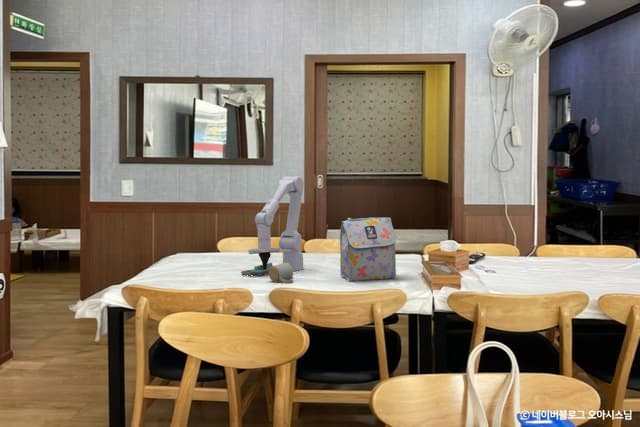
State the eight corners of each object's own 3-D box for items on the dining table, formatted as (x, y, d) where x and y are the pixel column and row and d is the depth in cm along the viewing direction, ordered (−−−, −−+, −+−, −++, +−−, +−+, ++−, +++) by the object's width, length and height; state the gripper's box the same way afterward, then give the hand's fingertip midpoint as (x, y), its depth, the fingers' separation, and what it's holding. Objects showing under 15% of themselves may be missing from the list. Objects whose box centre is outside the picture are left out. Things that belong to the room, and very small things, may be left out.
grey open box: (270, 270, 331) (270, 266, 331) (278, 272, 327) (278, 268, 327) (241, 274, 320) (241, 271, 320) (249, 276, 315) (249, 272, 315)
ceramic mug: (267, 281, 303) (267, 263, 302) (282, 279, 308) (282, 261, 307) (283, 284, 295) (283, 266, 294) (298, 282, 300) (298, 264, 300)
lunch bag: (348, 283, 297) (348, 220, 295) (337, 276, 313) (336, 217, 311) (398, 280, 303) (398, 218, 301) (384, 274, 319) (384, 215, 317)
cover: (269, 266, 331) (269, 261, 330) (278, 267, 328) (278, 262, 328) (250, 271, 316) (250, 266, 316) (259, 272, 314) (259, 267, 314)
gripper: (276, 237, 324) (276, 266, 325) (246, 239, 318) (246, 269, 319) (281, 238, 317) (282, 268, 318) (250, 240, 312) (251, 271, 313)
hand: (264, 269), depth 318 cm, fingers closed
